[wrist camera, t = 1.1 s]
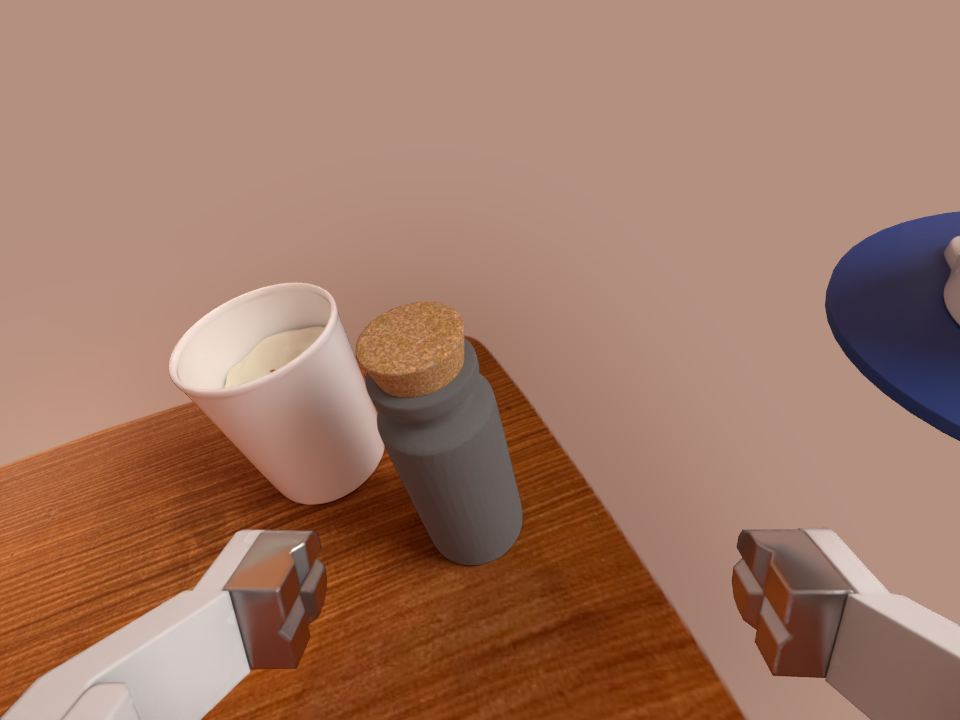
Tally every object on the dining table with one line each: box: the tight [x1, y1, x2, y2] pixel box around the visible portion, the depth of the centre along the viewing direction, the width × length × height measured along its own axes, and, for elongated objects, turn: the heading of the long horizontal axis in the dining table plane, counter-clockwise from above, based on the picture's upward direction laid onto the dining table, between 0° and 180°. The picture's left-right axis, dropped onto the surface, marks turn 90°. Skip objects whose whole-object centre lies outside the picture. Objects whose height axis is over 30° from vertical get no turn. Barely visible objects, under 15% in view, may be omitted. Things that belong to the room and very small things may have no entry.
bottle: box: [356, 302, 523, 565], centre depth 26 cm, size 6×6×15 cm
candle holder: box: [168, 283, 385, 505], centre depth 34 cm, size 10×10×12 cm
